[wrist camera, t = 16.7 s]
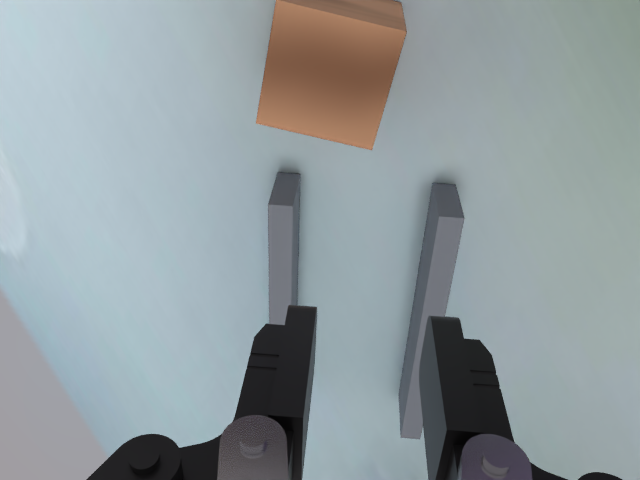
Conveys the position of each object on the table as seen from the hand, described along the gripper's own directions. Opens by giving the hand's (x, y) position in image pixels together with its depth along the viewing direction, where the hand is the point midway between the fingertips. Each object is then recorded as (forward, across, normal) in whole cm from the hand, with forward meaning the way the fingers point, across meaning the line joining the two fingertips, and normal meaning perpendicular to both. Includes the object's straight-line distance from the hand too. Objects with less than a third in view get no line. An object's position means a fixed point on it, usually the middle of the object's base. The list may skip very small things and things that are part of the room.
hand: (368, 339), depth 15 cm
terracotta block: (+17, +2, -3) cm, 17 cm away
